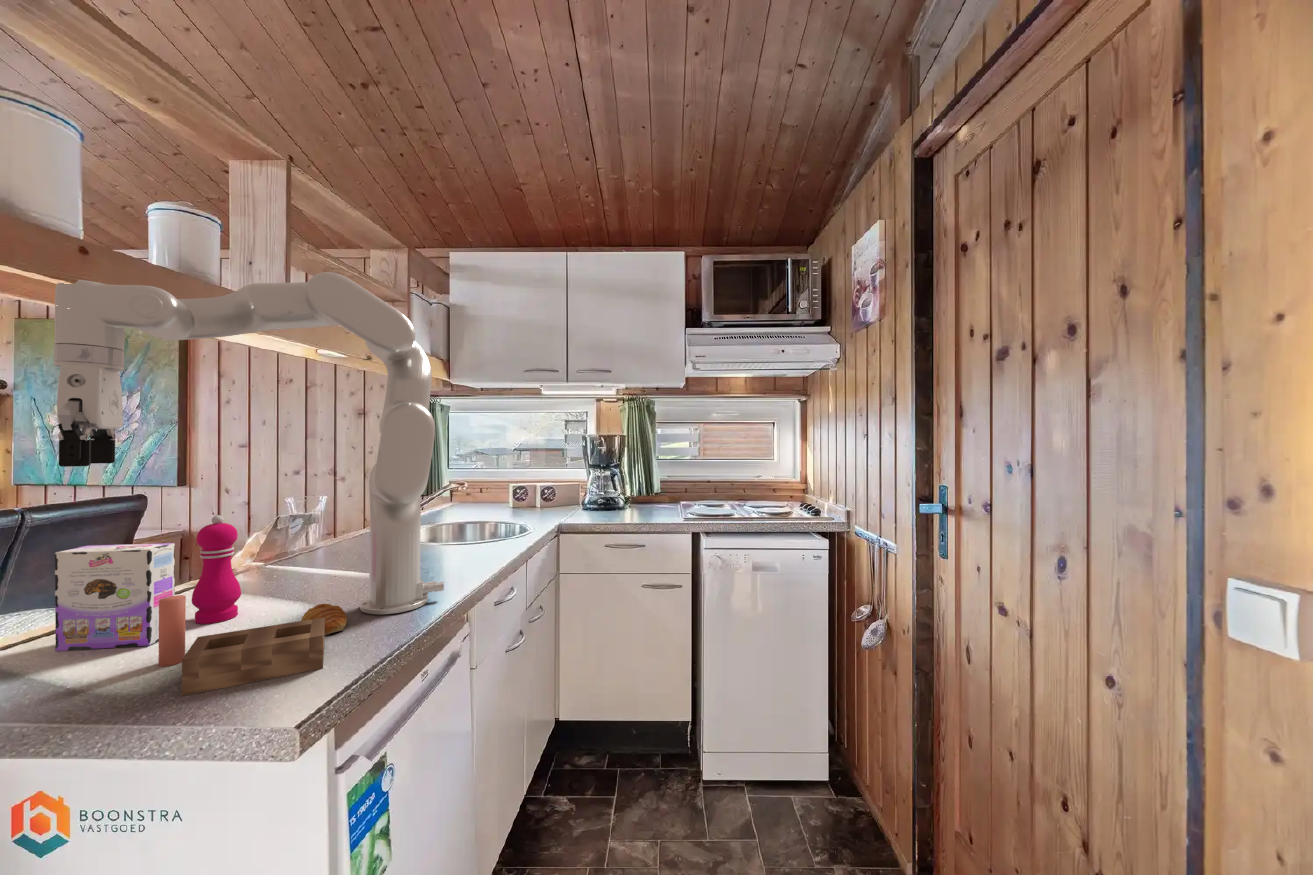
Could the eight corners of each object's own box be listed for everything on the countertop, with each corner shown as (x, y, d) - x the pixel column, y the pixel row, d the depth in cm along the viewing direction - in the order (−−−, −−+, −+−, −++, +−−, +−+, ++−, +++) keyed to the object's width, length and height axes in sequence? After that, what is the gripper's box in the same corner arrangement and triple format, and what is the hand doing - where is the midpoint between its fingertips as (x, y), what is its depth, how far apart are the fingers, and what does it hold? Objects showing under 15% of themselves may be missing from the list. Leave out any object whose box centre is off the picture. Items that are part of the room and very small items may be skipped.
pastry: (356, 630, 92) (356, 609, 92) (313, 642, 87) (313, 620, 87) (337, 618, 98) (337, 598, 98) (296, 628, 93) (296, 608, 93)
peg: (187, 656, 80) (187, 594, 80) (182, 663, 78) (182, 599, 78) (161, 660, 79) (162, 597, 79) (155, 668, 76) (156, 602, 76)
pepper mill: (250, 612, 100) (251, 512, 100) (215, 626, 93) (216, 518, 93) (217, 611, 101) (218, 512, 101) (180, 624, 94) (181, 517, 94)
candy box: (176, 633, 90) (177, 541, 90) (148, 647, 84) (149, 548, 84) (86, 637, 87) (87, 543, 88) (51, 652, 82) (52, 551, 82)
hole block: (324, 647, 84) (324, 617, 84) (322, 668, 77) (323, 635, 77) (197, 669, 76) (197, 636, 76) (181, 696, 68) (182, 659, 68)
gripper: (101, 354, 76) (99, 467, 76) (140, 367, 91) (139, 462, 91) (26, 349, 72) (24, 468, 72) (80, 363, 87) (79, 462, 87)
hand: (88, 464), depth 81 cm, fingers open, 9 cm apart
